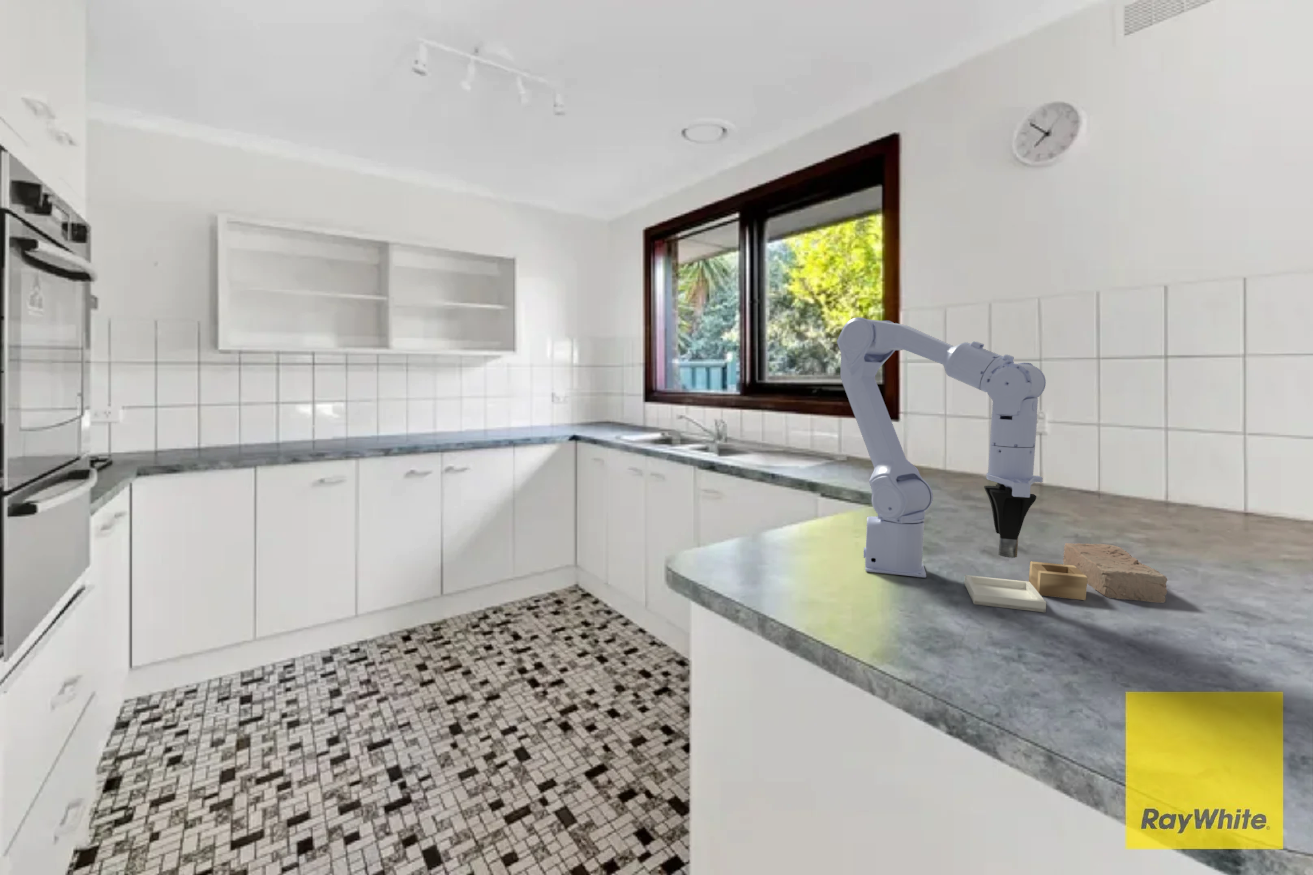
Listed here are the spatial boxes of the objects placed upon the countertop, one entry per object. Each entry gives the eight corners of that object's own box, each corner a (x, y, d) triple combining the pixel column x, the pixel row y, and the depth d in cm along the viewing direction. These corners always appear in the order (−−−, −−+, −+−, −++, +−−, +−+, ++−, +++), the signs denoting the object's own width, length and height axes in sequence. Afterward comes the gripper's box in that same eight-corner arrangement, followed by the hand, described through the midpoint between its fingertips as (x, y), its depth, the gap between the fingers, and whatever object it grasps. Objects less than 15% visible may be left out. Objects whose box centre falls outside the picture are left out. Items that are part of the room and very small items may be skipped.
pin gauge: (1001, 556, 87) (1004, 513, 86) (996, 552, 89) (998, 510, 88) (1019, 558, 86) (1022, 514, 86) (1013, 553, 88) (1016, 511, 88)
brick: (1169, 605, 86) (1172, 574, 86) (1103, 599, 89) (1106, 568, 88) (1115, 570, 102) (1117, 544, 102) (1060, 566, 105) (1062, 540, 104)
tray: (973, 604, 86) (974, 594, 86) (964, 583, 94) (964, 574, 94) (1045, 612, 83) (1046, 602, 83) (1028, 590, 91) (1029, 581, 91)
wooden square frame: (1038, 595, 89) (1040, 572, 89) (1028, 582, 95) (1030, 561, 95) (1085, 600, 87) (1087, 577, 87) (1072, 586, 93) (1073, 565, 93)
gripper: (1059, 452, 78) (1052, 552, 79) (1030, 441, 92) (1024, 526, 93) (998, 450, 80) (993, 546, 82) (979, 440, 94) (974, 523, 95)
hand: (1006, 536), depth 87 cm, fingers closed on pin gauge, 2 cm apart
